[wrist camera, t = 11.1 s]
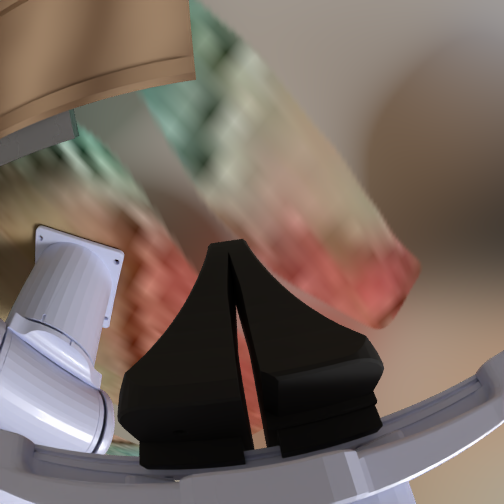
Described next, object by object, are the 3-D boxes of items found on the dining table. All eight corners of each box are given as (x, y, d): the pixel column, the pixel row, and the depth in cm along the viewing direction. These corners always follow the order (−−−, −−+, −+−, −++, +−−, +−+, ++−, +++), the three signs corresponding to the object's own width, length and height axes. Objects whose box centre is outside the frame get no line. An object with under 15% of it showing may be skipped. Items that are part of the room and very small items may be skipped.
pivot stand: (-2, 165, 16) (-22, 180, 13) (-23, 20, 8) (-45, 20, 6) (78, 135, 16) (61, 146, 14) (61, -28, 9) (43, -38, 6)
